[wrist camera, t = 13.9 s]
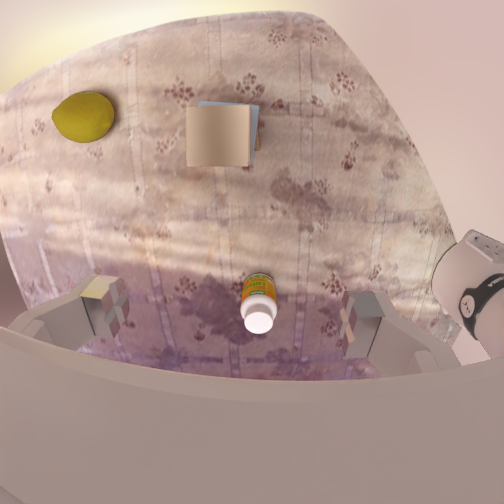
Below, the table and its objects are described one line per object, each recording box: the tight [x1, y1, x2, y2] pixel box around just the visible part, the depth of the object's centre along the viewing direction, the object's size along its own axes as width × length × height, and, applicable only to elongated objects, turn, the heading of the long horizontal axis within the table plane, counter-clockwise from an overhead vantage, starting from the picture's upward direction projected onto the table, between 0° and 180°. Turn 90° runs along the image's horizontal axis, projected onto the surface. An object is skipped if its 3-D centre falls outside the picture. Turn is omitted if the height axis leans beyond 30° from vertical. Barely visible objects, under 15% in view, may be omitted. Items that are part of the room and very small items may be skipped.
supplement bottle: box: [241, 273, 277, 334], centre depth 44 cm, size 5×5×10 cm
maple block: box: [186, 105, 252, 167], centre depth 24 cm, size 5×5×6 cm
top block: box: [198, 101, 259, 163], centre depth 29 cm, size 6×6×6 cm
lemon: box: [52, 91, 114, 143], centre depth 32 cm, size 11×8×8 cm
